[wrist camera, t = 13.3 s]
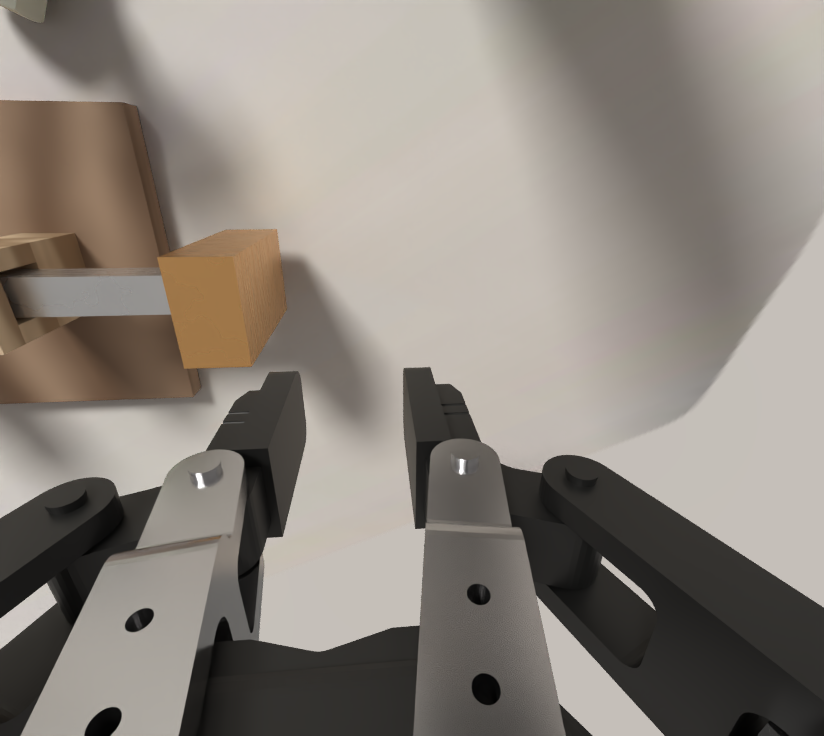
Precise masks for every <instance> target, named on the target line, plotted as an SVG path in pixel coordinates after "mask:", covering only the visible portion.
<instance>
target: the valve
mask: <svg viewBox="0 0 824 736" xmlns="http://www.w3.org/2000/svg"><path fill="white" fill-rule="evenodd" d="M47 2H48V0H0V6H2V7H4V8H6V9H8V10H10V11H12V12H14V13H16V14H18V15H20V16H22V17H24V18H26V19H29V20H31V21H33V22H38V23H44V19H45V13H46V7H47Z"/></svg>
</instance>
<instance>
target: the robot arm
mask: <svg viewBox="0 0 824 736" xmlns="http://www.w3.org/2000/svg"><path fill="white" fill-rule="evenodd" d="M403 423H404V440H405V448H406V456H407V464H408V473H409V481H410V489H411V497H412V505H413V514H414V522H415V529H421V528H425V544H424V562H423V578H422V596H421V612H420V626H409V627H397V628H390V629H388V630H385V631H382V632H379V633H376V634H373V635H371V636H367V637H364V638H362V639H359V640H356V641H353V642H350V643H347V644H344V645H341V646H338V647H335V648H333V649H330V650H326V651H321V652H314V651H308V650H303V649H298V648H293V647H288V646H282V645H277V644H272V643H267V642H262V641H259V628H260V616H261V601H262V589H263V577H264V559H263V554H262V552H263V550H264V546H265V543H266V539H267V538H271V537H283V534H284V530H285V525H286V521H287V517H288V513H289V509H290V505H291V501H292V497H293V493H294V488H295V484H296V480H297V476H298V472H299V468H300V464H301V460H302V456H303V451H304V447H305V443H306V419H305V410H304V402H303V393H302V385H301V378H300V374H299V372H298V371H293V372H270V373H269V374H268V376H267V378H266V380H265V382H264V384H263V386H262V388H261V390H257V391H248V392H247V393H246V394H244V395H243V396H241V397H240V398H239V399H237V400H236V401H235V402H234V404H233V406H232V408H231V409H230V411H229V414H227V416H226V418H225V419H224V421H223V424H221V426H220V428H219V429H218V431H217V433H216V435H215V436H214V438H213V440H212V441H211V443H210V445H209V446H208V448H207V450H206V451H204V452H201V453H197V454H195V455H192V456H190V457H188V458H186V459H184V460H182V461H181V462H179V463H178V464H176V465H175V466H174V467H173V468H172V469H171V470H170V471H169V472H168V474H167V476H166V478H165V481H164V483H163V485H162V486H160V487H156V488H153V489H149V490H145V491H141V492H137V493H133V494H129V495H125V496H121V497H119V495H118V492H117V489H116V487H115V485H114V483H113V482H112V481H110V480H108V479H105V478H98V477H92V478H83V479H78V480H73V481H70V482H67V483H64V484H61V485H59V486H56V487H54V488H52V489H50V490H48V491H46V492H44V493H42V494H40V495H39V496H37V497H35V498H34V499H32V500H30V501H29V502H27V503H25V504H24V505H22V506H20V507H19V508H17V509H15V510H14V511H12V512H10V513H9V514H7V515H5V516H4V517H2V518H0V618H1V617H3V616H4V615H5V614H7V613H8V612H9V611H10V610H12V609H13V608H14V607H16V606H17V605H18V604H20V603H21V602H22V601H23V600H25V599H26V598H27V597H29V596H30V595H31V594H32V593H34V592H35V591H36V590H38V589H39V588H40V587H42V586H43V585H44V584H45V583H47V584H48V586H49V588H50V590H51V592H52V593H53V595H54V597H55V599H56V601H57V603H56V604H55V605H54V606H53V607H51V608H50V609H49V610H48V611H46V612H45V613H44V614H43V615H42V616H40V617H39V618H38V619H37V620H36V621H34V622H33V623H32V624H31V625H30V626H28V627H27V628H26V629H25V630H23V631H22V632H21V633H20V634H19V635H17V636H16V637H15V638H14V639H13V640H11V641H10V642H9V643H8V644H6V645H5V646H4V647H3V648H2V649H0V736H592V735H591V734H590V733H589V732H588V731H587V730H586V729H585V728H584V727H583V726H582V725H581V724H580V723H579V722H578V721H577V720H576V719H574V717H573V716H571V714H570V713H568V712H567V711H566V710H565V709H564V708H563V707H562V706H561V705H560V704H559V701H558V696H557V692H556V687H555V682H554V677H553V673H552V669H551V663H550V658H549V654H548V649H547V644H546V640H545V635H544V630H543V625H542V621H541V616H540V611H539V607H538V602H537V597H536V595H537V596H538V598H539V599H541V601H542V602H543V603H544V604H545V605H546V606H547V607H548V609H549V610H550V611H551V612H552V613H553V614H554V615H555V616H556V617H557V618H558V619H559V621H560V622H561V623H562V624H563V625H564V626H565V627H566V628H567V629H568V630H569V632H571V634H572V635H573V636H574V637H575V638H576V639H577V640H578V641H579V642H580V644H581V645H582V646H583V647H584V648H585V649H586V650H587V651H588V652H589V653H590V654H591V656H592V657H593V658H594V659H595V660H596V661H597V662H598V663H599V664H600V665H601V667H602V668H603V669H604V670H605V671H606V672H607V673H608V674H609V675H610V676H611V677H612V679H614V681H615V682H616V683H617V684H618V685H619V686H620V687H621V688H622V689H623V691H624V692H625V693H626V694H627V695H628V696H629V697H630V698H631V699H632V700H633V702H634V703H635V704H636V705H637V706H638V707H639V708H640V709H641V710H642V711H643V712H644V713H645V715H646V716H647V717H648V718H649V719H650V720H651V721H652V722H653V723H654V724H655V726H656V727H657V728H658V729H659V730H660V731H661V732H662V733H663V734H664V735H665V736H824V608H823V607H822V606H820V605H819V604H817V603H816V602H814V601H813V600H811V599H809V598H808V597H806V596H805V595H803V594H802V593H800V592H799V591H797V590H795V589H794V588H792V587H791V586H789V585H788V584H786V583H785V582H783V581H782V580H780V579H779V578H777V577H776V576H774V575H772V574H771V573H769V572H768V571H766V570H765V569H763V568H762V567H760V566H759V565H757V564H756V563H754V562H752V561H751V560H749V559H748V558H746V557H745V556H743V555H742V554H740V553H739V552H737V551H735V550H734V549H732V548H731V547H729V546H728V545H726V544H724V543H723V542H721V541H720V540H718V539H717V538H715V537H714V536H712V535H711V534H709V533H708V532H706V531H705V530H703V529H701V528H700V527H698V526H697V525H695V524H694V523H692V522H691V521H689V520H688V519H686V518H684V517H683V516H681V515H680V514H678V513H677V512H675V511H674V510H672V509H670V508H669V507H667V506H666V505H664V504H662V503H661V502H660V501H658V500H656V499H655V498H654V497H652V496H650V495H649V494H647V493H646V492H644V491H643V490H641V489H640V488H638V487H636V486H635V485H633V484H632V483H630V482H629V481H627V480H626V479H624V478H623V477H621V476H620V475H618V474H616V473H615V472H613V471H612V470H610V469H609V468H607V467H606V466H604V465H602V464H601V463H598V462H596V461H594V460H591V459H589V458H585V457H581V456H575V455H561V456H556V457H553V458H551V459H549V460H548V461H547V462H546V463H545V464H544V466H543V470H542V473H537V472H531V471H525V470H520V469H515V468H511V467H508V466H505V465H503V464H501V463H500V460H499V457H498V455H497V453H496V452H495V451H494V450H493V449H492V448H491V447H489V446H488V445H486V444H484V443H482V442H481V441H480V438H479V436H478V433H477V431H476V428H475V426H474V423H473V421H472V418H471V416H470V414H469V411H468V409H467V406H466V405H465V401H464V399H463V396H462V394H461V392H460V391H458V390H457V389H456V388H454V387H453V386H452V385H451V384H435V382H434V378H433V375H432V372H431V368H430V367H424V368H404V370H403ZM602 556H603V557H605V558H606V559H607V560H608V561H609V562H611V563H612V564H613V565H614V566H615V567H616V568H618V569H619V570H620V571H621V572H622V573H623V574H625V575H626V576H627V577H628V578H629V579H631V580H632V581H633V582H634V583H635V584H636V585H638V586H639V587H640V588H641V589H642V590H643V591H644V592H645V593H646V594H647V595H648V597H649V598H650V600H651V601H652V603H653V605H654V607H655V610H656V611H655V610H654V609H653V608H652V607H650V606H649V605H648V604H647V603H646V602H644V600H642V599H641V598H640V597H639V596H638V595H637V594H636V593H634V592H633V591H632V590H631V589H630V588H629V587H628V586H626V585H625V584H624V583H623V582H622V581H621V580H619V579H618V578H617V577H616V576H615V575H614V574H613V573H611V572H610V571H609V570H608V569H607V568H606V567H604V566H603V565H602V564H601V559H602Z"/></svg>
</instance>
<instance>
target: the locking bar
mask: <svg viewBox="0 0 824 736" xmlns="http://www.w3.org/2000/svg"><path fill="white" fill-rule="evenodd" d="M157 259H158V263H159V268H76V269H9V270H5V271H2V272H0V282H1V284H2V287H3V289H4V291H5V294H6V296H7V299H8V301H9V304H10V306H11V309H12V311H13V314H14V316H15V318H26V317H74V316H123V315H171V317H172V321H173V325H174V329H175V333H176V337H177V341H178V345H179V349H180V353H181V357H182V361H183V366H184V369H190V368H223V367H252V365H253V364H254V362H255V360H256V359H257V357H258V356H259V354H260V352H261V351H262V349H263V347H264V346H265V344H266V342H267V341H268V339H269V338H270V336H271V334H272V333H273V331H274V329H275V328H276V326H277V325H278V323H279V321H280V320H281V318H282V316H283V315H284V313H285V311H286V310H287V306H286V298H285V290H284V282H283V274H282V266H281V258H280V250H279V241H278V233H277V229H263V230H224V231H221V232H219V233H216V234H214V235H211V236H209V237H206V238H204V239H201V240H199V241H197V242H194V243H192V244H189V245H187V246H184V247H182V248H179V249H177V250H174V251H172V252H169V253H167V254H164V255H162V256H159V257H157Z"/></svg>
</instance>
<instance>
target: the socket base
mask: <svg viewBox="0 0 824 736" xmlns="http://www.w3.org/2000/svg"><path fill="white" fill-rule="evenodd" d="M169 252H170V250H169V246H168V241H167V237H166V233H165V228H164V224H163V220H162V215H161V211H160V207H159V202H158V198H157V194H156V189H155V185H154V181H153V176H152V172H151V168H150V163H149V159H148V155H147V150H146V146H145V142H144V137H143V133H142V129H141V124H140V120H139V116H138V111H137V107H136V106H133V105H130V104H126V103H122V102H67V101H10V100H0V272H2V271H5V270H9V269H76V268H159V263H158V259H157V257H159V256H162V255H164V254H167V253H169ZM200 388H201V384H200V380H199V376H198V371H197V368H190V369H184V366H183V361H182V357H181V353H180V349H179V345H178V341H177V337H176V333H175V329H174V325H173V321H172V317H171V315H123V316H74V317H26V318H15V316H14V314H13V311H12V309H11V306H10V304H9V301H8V299H7V296H6V294H5V291H4V289H3V287H2V284H1V282H0V404H11V403H38V402H66V401H94V400H122V399H150V398H178V397H194V396H195V395H196V393H197V392H198V391H199V389H200Z"/></svg>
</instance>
